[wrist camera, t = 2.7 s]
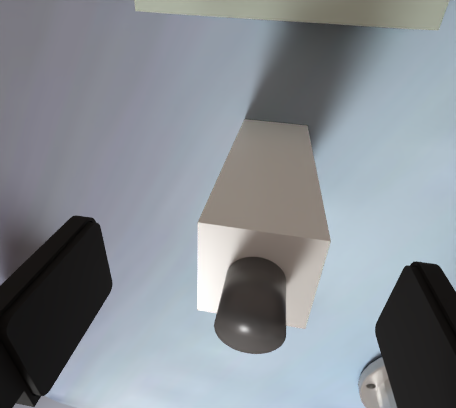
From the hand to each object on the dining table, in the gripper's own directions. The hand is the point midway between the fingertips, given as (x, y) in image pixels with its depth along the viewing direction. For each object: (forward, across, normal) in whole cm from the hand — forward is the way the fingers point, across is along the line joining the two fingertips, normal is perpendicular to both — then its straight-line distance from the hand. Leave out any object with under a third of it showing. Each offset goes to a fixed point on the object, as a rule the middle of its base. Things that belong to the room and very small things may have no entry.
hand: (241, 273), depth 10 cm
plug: (+12, -1, +1) cm, 12 cm away
